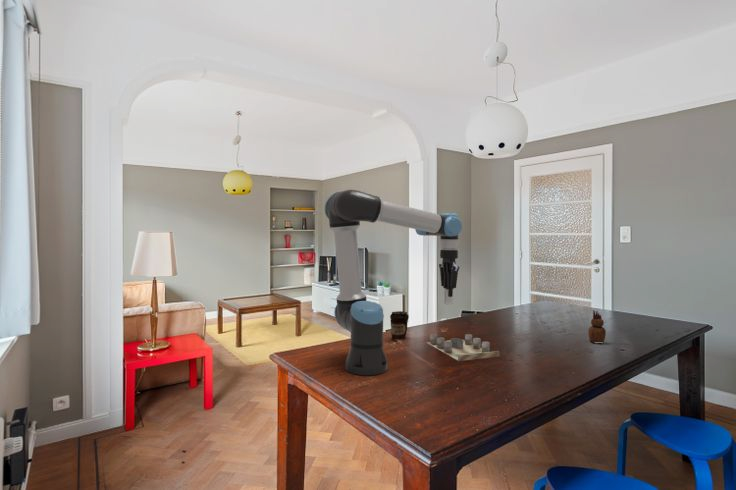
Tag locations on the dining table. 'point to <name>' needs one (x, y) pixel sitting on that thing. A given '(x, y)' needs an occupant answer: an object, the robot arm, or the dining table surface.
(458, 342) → the nut
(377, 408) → the dining table surface
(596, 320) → the wooden figurine
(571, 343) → the dining table surface
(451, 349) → the board
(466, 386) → the dining table surface
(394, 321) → the coffee cup
